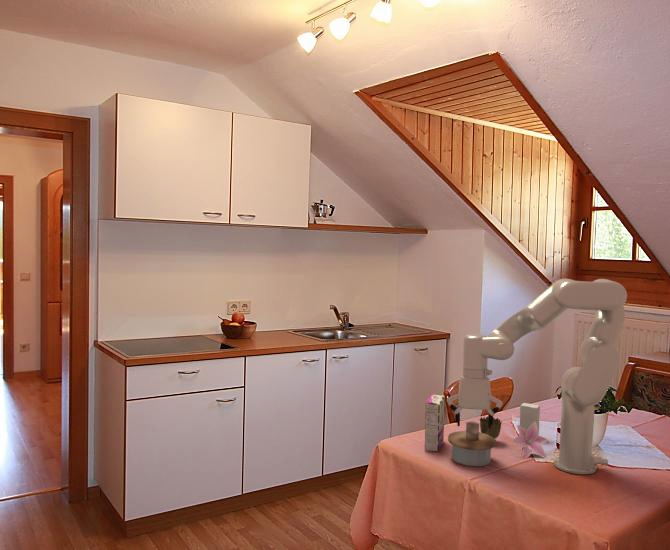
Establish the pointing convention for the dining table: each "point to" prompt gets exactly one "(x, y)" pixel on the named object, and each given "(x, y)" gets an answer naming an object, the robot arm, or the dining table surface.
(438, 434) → the candy bar box
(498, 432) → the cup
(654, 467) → the dining table surface
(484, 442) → the lid
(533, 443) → the lily
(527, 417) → the skincare box
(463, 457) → the bowl
